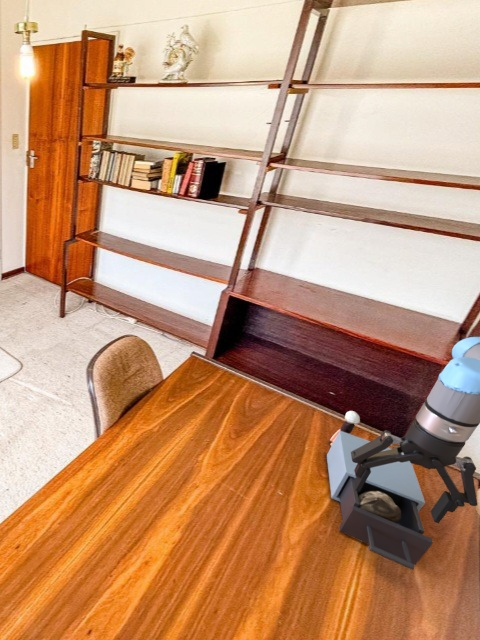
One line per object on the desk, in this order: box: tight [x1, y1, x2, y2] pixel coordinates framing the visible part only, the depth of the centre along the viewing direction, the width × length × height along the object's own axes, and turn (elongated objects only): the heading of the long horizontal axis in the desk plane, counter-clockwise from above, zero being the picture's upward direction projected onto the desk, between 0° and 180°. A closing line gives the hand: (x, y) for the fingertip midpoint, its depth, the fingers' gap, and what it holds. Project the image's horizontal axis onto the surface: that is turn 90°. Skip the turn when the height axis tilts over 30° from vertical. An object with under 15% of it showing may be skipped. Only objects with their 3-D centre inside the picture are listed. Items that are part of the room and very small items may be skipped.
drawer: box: [339, 476, 434, 571], centre depth 89 cm, size 21×13×8 cm, turn 149°
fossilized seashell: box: [358, 491, 401, 523], centre depth 90 cm, size 8×7×10 cm
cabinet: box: [326, 431, 426, 513], centre depth 100 cm, size 16×15×10 cm
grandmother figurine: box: [329, 410, 361, 447], centre depth 112 cm, size 8×4×13 cm, turn 130°
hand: (394, 501), depth 87 cm, fingers open, 13 cm apart
